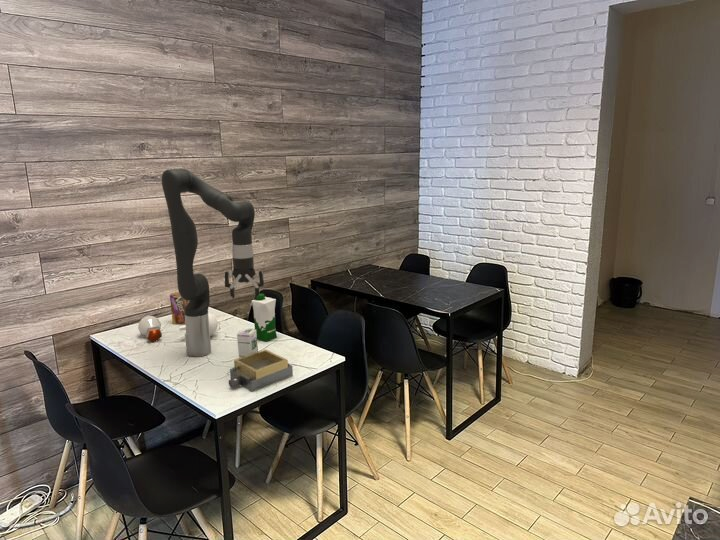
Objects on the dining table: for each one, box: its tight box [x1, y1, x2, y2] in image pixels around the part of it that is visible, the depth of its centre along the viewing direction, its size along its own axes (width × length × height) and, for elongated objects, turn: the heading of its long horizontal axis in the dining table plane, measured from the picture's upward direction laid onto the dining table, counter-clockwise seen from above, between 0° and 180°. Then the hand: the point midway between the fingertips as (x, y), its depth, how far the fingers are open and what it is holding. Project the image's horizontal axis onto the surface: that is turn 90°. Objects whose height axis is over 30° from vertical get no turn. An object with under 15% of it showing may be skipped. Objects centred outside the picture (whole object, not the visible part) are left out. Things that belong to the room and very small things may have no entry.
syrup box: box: [236, 327, 259, 359], centre depth 195 cm, size 6×6×14 cm
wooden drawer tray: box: [228, 349, 294, 392], centre depth 184 cm, size 22×14×7 cm, turn 135°
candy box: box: [169, 291, 190, 325], centre depth 242 cm, size 9×4×15 cm, turn 85°
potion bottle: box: [137, 315, 163, 343], centre depth 225 cm, size 9×10×15 cm
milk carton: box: [251, 292, 278, 343], centre depth 222 cm, size 9×9×20 cm
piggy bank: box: [178, 312, 219, 337], centre depth 225 cm, size 12×12×15 cm
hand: (245, 297), depth 190 cm, fingers open, 8 cm apart
